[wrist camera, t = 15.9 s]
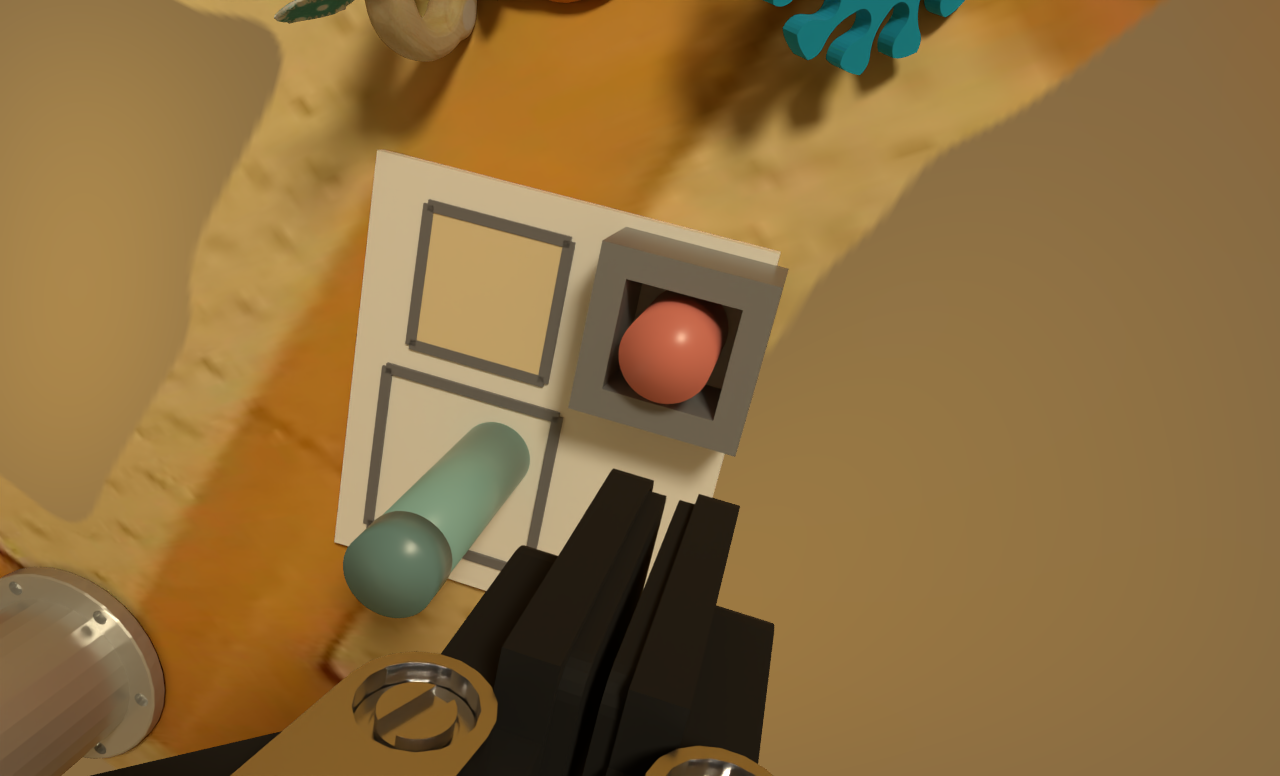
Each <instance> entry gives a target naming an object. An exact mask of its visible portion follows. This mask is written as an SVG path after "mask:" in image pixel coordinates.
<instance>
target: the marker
mask: <svg viewBox="0 0 1280 776" xmlns="http://www.w3.org/2000/svg"><path fill="white" fill-rule="evenodd" d="M529 465H530V454H529V450H528V447H527V445H526V443H525V441H524V440H523V438H522V437H521V436H520V435H519V434H518V433H517V432H516V431H515V430H514V429H512V428H510V427H509V426H507V425H504V424H501V423H497V422H485V423H481V424H478V425H477V426H475V427H473V428H472V429H471V430H470V431H469V432H468V433H467V434H466V435H465V436H463V437H462V438H461V439H460V440H459V441H458V442H457V443H456V444H455V445H454V446H453V447H452V448H451V449H450V450H449V451H448V452H447V453H446V454H445V455H444V456H443V457H442V458H441V459H440V460H439V461H438V462H437V463H436V464H435V465H433V466H432V467H431V468H430V469H429V470H428V471H427V472H426V473H425V474H424V475H423V476H422V477H421V478H420V479H419V480H418V481H417V482H416V483H415V484H414V485H413V486H412V487H411V488H410V489H409V490H408V491H407V492H406V493H404V494H403V495H402V496H401V497H400V498H399V499H398V500H397V501H396V502H395V503H394V504H393V505H392V506H391V507H390V508H389V509H388V510H387V511H386V512H385V513H384V514H383V515H381V516H380V517H378V518H377V519H376V520H375V521H374V522H373V523H371V524H370V525H369V526H368V527H367V528H366V529H365V530H364V531H363V532H362V533H361V534H360V535H359V536H358V537H357V538H356V539H355V540H354V541H353V542H352V543H351V544H350V545H349V547H348V548H347V550H346V553H345V556H344V561H343V570H344V576H345V579H346V582H347V584H348V586H349V588H350V590H351V591H352V593H353V594H354V596H355V597H356V598H357V599H358V600H359V601H360V602H361V603H362V604H363V605H364V606H366V607H367V608H369V609H370V610H372V611H374V612H376V613H378V614H380V615H383V616H387V617H392V618H405V617H410V616H413V615H415V614H418V613H419V612H421V611H422V610H423V609H424V608H426V606H427V605H428V604H429V603H430V601H431V600H432V599H433V597H434V596H435V595H436V594H437V592H438V591H439V590H440V588H441V587H442V586H443V584H444V583H445V582H446V580H447V579H448V577H449V575H450V573H451V572H452V570H453V569H454V568H455V567H456V565H457V564H458V563H459V561H460V560H461V559H462V557H463V556H464V555H465V554H466V552H467V551H468V550H469V548H470V547H471V546H472V544H473V543H474V542H475V541H476V539H477V538H478V537H479V535H480V534H481V533H482V531H483V530H484V529H485V528H486V526H487V525H488V524H489V522H490V521H491V520H492V518H493V517H494V516H495V515H496V513H497V512H498V511H499V509H500V508H501V507H502V505H503V504H504V503H505V502H506V500H507V499H508V498H509V496H510V495H511V494H512V492H513V491H514V490H515V489H516V487H517V486H518V485H519V483H520V482H521V481H522V479H523V478H524V477H525V475H526V474H527V472H528V469H529Z"/></svg>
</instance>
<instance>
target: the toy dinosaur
mask: <svg viewBox="0 0 1280 776" xmlns="http://www.w3.org/2000/svg"><path fill="white" fill-rule="evenodd" d="M764 1H766V2H768V3H771V4H773V5H775V6H781V7H782V6H785V5H787V4H789V3H790V2H791V1H792V0H764ZM964 1H965V0H924V4H925V7H926V9H927V10H928V11H929V12H932V13H934V14H937V15H940V16H943V17H947V16H949V15H950V14H952V13H953V12H954V11H955V10H956V9H957V8H958V7H959V6H960V5H961V4H962V3H963V2H964ZM919 3H920V0H825V1H824V3H823V5H822V7H821V8H820V9H819V10H818V11H817V12H816V13H814V14H796V15H794V16H792V17H791V18H790V19H789V20H787V22H786V23H785V25H784V27H783V34H784V37H785V40H786V42H787V44H788V46H789V48H790V49H791V50H792V52H793V53H794V54H796V55H798V56H800V57H802V58H804V59H806V60H810V59H813V58H814V57H816V56H817V55H818V54H819V53H820V51H821V50H822V48H823V46H824V44H825V42H826V40H827V39H828V37H829V36H830V34H831V33H832V31H833V30H834V29H835V28H836V26H837V25H838V24H840V23H841V22H842V21H843V20H844V19H845V18H847V17H848V16H850V15H851V14H853V13H855V12H856V19H855V22H854V24H853V26H852V27H851V28H850V29H849V30H848V31H847V32H846V33H844V34H842V35H841V36H839V37H838V38H836V39H835V40H834V41H833V42H832V43H831V45H830V46H829V49H828V51H827V54H826V59H827V60H828V62H829V63H831V64H832V65H834V66H836V67H839V68H841V69H843V70H845V71H847V72H849V73H852V74H856V75H861V74H862V73H863V71H864V70H865V69H866V67H867V65H868V62H869V59H870V51H871V47H872V43H873V40H874V37H875V34H876V32H877V30H878V28H879V26H880V25H881V23H882V21H883V20H884V18H885V17H886V15H887V14H888V13H889V11H890V10H891V9H892V7H893V6H894V10H893V14H892V16H891V18H890V19H889V21H888V22H887V24H886V25H885V26H884V28H883V29H882V31H881V33H880V35H879V38H878V43H877V48H878V52H881V53H883V54H885V55H888V56H890V57H892V58H903V57H906V56H909V55H911V54H914V53H916V52H917V50H918V48H919V45H920V41H921V34H920V31H919V27H918V8H919Z"/></svg>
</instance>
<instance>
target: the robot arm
mask: <svg viewBox="0 0 1280 776" xmlns="http://www.w3.org/2000/svg"><path fill="white" fill-rule="evenodd" d="M653 485H654V480H651V479H648V478H644V477H641V476H638V475H634V474H631V473H627V472H624V471H621V470H617V469H614V468H613V469H612V470H611V471H610V473H609V475H608V476H607V478H606V480H605V481H604V483H603V484H602V486H601V488H600V489H599V491H598V492H597V494H596V496H595V497H594V499H593V501H592V502H591V504H590V505H589V507H588V509H587V510H586V512H585V514H584V515H583V517H582V518H581V520H580V522H579V523H578V525H577V526H576V528H575V530H574V531H573V533H572V535H571V536H570V538H569V539H568V541H567V543H566V544H565V546H564V547H563V549H562V551H561V552H560V554H559V556H557V555H554V554H551V553H547V552H544V551H541V550H538V549H535V548H532V547H528V546H525V545H521V546H520V547H519V548H518V549H517V550H516V551H515V552H514V554H513V555H512V556H511V558H510V559H509V560H508V562H507V563H506V565H505V566H504V567H503V569H502V570H501V572H500V573H499V574H498V576H497V577H496V578H495V580H494V581H493V583H492V584H491V585H490V587H489V588H488V590H487V591H486V592H485V594H484V595H483V596H482V598H481V599H480V601H479V602H478V603H477V605H476V606H475V608H474V609H473V610H472V612H471V613H470V615H469V616H468V617H467V619H466V620H465V621H464V623H463V624H462V626H461V627H460V628H459V630H458V631H457V633H456V634H455V635H454V637H453V638H452V639H451V641H450V642H449V644H448V645H447V646H446V648H445V649H444V651H443V652H442V653H441V654H437V653H428V652H418V651H413V652H402V653H392V654H389V655H386V656H383V657H380V658H377V659H373V660H370V661H369V662H367V663H365V664H364V665H362V666H361V667H359V668H358V669H356V670H354V671H353V672H351V673H350V674H349V675H348V676H347V677H345V678H344V679H343V680H342V681H341V682H340V683H338V684H337V685H336V686H335V687H334V688H333V689H331V690H330V691H329V692H328V693H327V694H325V695H324V696H323V697H322V698H321V699H320V700H318V701H317V702H316V703H315V704H314V705H313V706H311V707H310V708H309V709H308V710H307V711H306V712H304V713H303V714H302V715H301V716H300V717H299V718H297V719H296V720H295V721H294V722H293V723H291V724H290V725H289V726H288V727H287V728H286V729H284V730H283V731H281V732H277V733H273V734H268V735H264V736H260V737H255V738H251V739H247V740H243V741H238V742H234V743H230V744H225V745H221V746H217V747H212V748H208V749H204V750H199V751H195V752H191V753H186V754H182V755H178V756H173V757H169V758H165V759H161V760H156V761H152V762H148V763H143V764H139V765H135V766H130V767H126V768H122V769H117V770H114V771H109V772H104V773H100V774H96V775H92V776H773V775H772V774H771V773H770V772H769V771H768V770H767V769H765V768H764V767H762V766H760V765H758V759H759V751H760V743H761V734H762V726H763V718H764V710H765V702H766V693H767V685H768V677H769V669H770V661H771V652H772V644H773V636H774V624H773V623H770V622H767V621H764V620H761V619H758V618H754V617H751V616H748V615H745V614H741V613H739V612H735V611H732V610H729V609H726V608H723V607H719V606H716V603H717V599H718V594H719V590H720V586H721V582H722V578H723V574H724V570H725V566H726V561H727V557H728V553H729V549H730V545H731V541H732V537H733V533H734V529H735V525H736V521H737V516H738V512H739V508H740V506H738V505H735V504H732V503H728V502H725V501H721V500H718V499H715V498H711V497H708V496H705V495H701V494H699V495H698V497H697V500H696V503H695V504H692V503H689V502H685V501H682V500H679V502H678V504H677V507H676V509H675V512H674V514H673V517H672V519H671V522H670V524H669V527H668V529H667V532H666V534H665V537H664V539H663V542H662V544H661V547H660V549H659V552H658V554H657V557H656V559H655V562H654V564H653V567H652V569H651V572H650V574H649V577H648V579H647V582H646V584H645V581H646V577H647V573H648V569H649V565H650V562H651V558H652V554H653V550H654V546H655V542H656V538H657V534H658V530H659V527H660V523H661V519H662V515H663V511H664V507H665V503H666V497H667V496H665V495H662V494H659V493H655V492H652V491H653ZM644 585H645V587H644ZM164 693H165V688H164V680H163V672H162V669H161V666H160V663H159V659H158V656H157V654H156V652H155V649H154V647H153V645H152V643H151V641H150V639H149V637H148V636H147V634H146V633H145V631H144V630H143V629H142V627H141V626H140V624H139V623H138V621H137V620H136V619H135V618H134V617H133V616H132V614H131V613H130V612H129V611H128V610H127V609H126V608H125V607H124V606H123V605H122V604H121V603H120V602H119V601H118V600H116V599H115V598H114V597H113V596H112V595H110V594H109V593H108V592H107V591H105V590H104V589H102V588H100V587H99V586H97V585H96V584H94V583H92V582H91V581H89V580H87V579H84V578H82V577H80V576H77V575H75V574H73V573H70V572H67V571H63V570H59V569H55V568H47V567H30V568H24V569H19V570H16V571H14V572H12V573H9V574H7V575H5V576H3V577H2V578H0V776H61V775H62V774H64V773H65V772H66V771H67V770H68V769H69V768H71V767H72V766H73V765H74V764H75V763H76V762H77V761H78V760H80V759H81V758H82V757H85V758H94V759H95V758H109V757H113V756H116V755H120V754H123V753H125V752H127V751H128V750H130V749H131V748H133V747H135V746H136V745H137V744H138V743H139V742H140V741H142V740H143V739H144V738H145V737H146V736H147V735H148V734H149V733H150V732H151V731H152V729H153V728H154V726H155V725H156V723H157V722H158V720H159V718H160V715H161V712H162V709H163V705H164Z"/></svg>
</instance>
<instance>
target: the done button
mask: <svg viewBox="0 0 1280 776" xmlns="http://www.w3.org/2000/svg"><path fill="white" fill-rule="evenodd" d="M728 328H729V327H728V319H727V315H726V313H725V310H724V308H723V306H722V305H721V304H718V303H714V302H710V301H707V300H703V299H699V298H695V297H692V296H688V295H684V294H680V293H677V292H673V291H669V290H666V291H664V292H663V293H661V294H660V295H659V296H658V297H657V298H656V299H655V300H654V301H653V302H652V303H651V304H650V305H649V306H648V307H647V308H646V309H645V310H644V311H643V312H642V314H641V315H640V316H639V317H638V318H637V319H636V320H635V321H634V322H633V323H632V324H631V325H630V326H629V328H628V329H627V330H626V332H625V333H624V335H623V337H622V340H621V343H620V346H619V365H620V369H621V371H622V374H623V376H624V378H625V380H626V381H627V383H628V384H629V386H630V387H631V388H632V389H633V390H634V391H635V392H637V393H638V394H639V395H641V396H642V397H644V398H646V399H648V400H650V401H653V402H657V403H662V404H674V403H680V402H683V401H686V400H688V399H690V398H692V397H693V396H695V395H696V394H697V393H699V392H700V391H701V389H702V388H703V387H704V386H705V384H706V383H707V381H708V379H709V377H710V375H711V373H712V371H713V369H714V366H715V364H716V362H717V360H718V358H719V356H720V354H721V352H722V349H723V347H724V345H725V343H726V340H727V336H728Z"/></svg>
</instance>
